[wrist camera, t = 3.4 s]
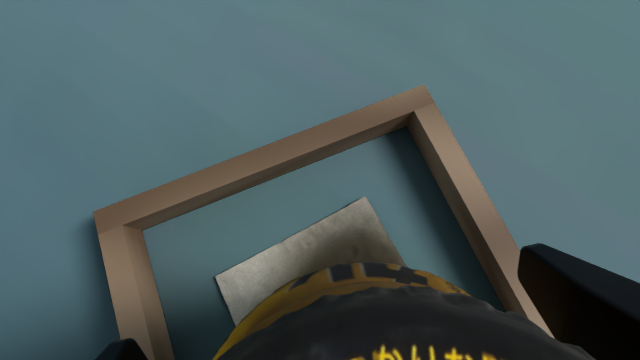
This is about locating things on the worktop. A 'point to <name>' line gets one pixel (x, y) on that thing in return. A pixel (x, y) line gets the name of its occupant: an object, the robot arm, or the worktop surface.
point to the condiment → (365, 304)
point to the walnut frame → (283, 157)
